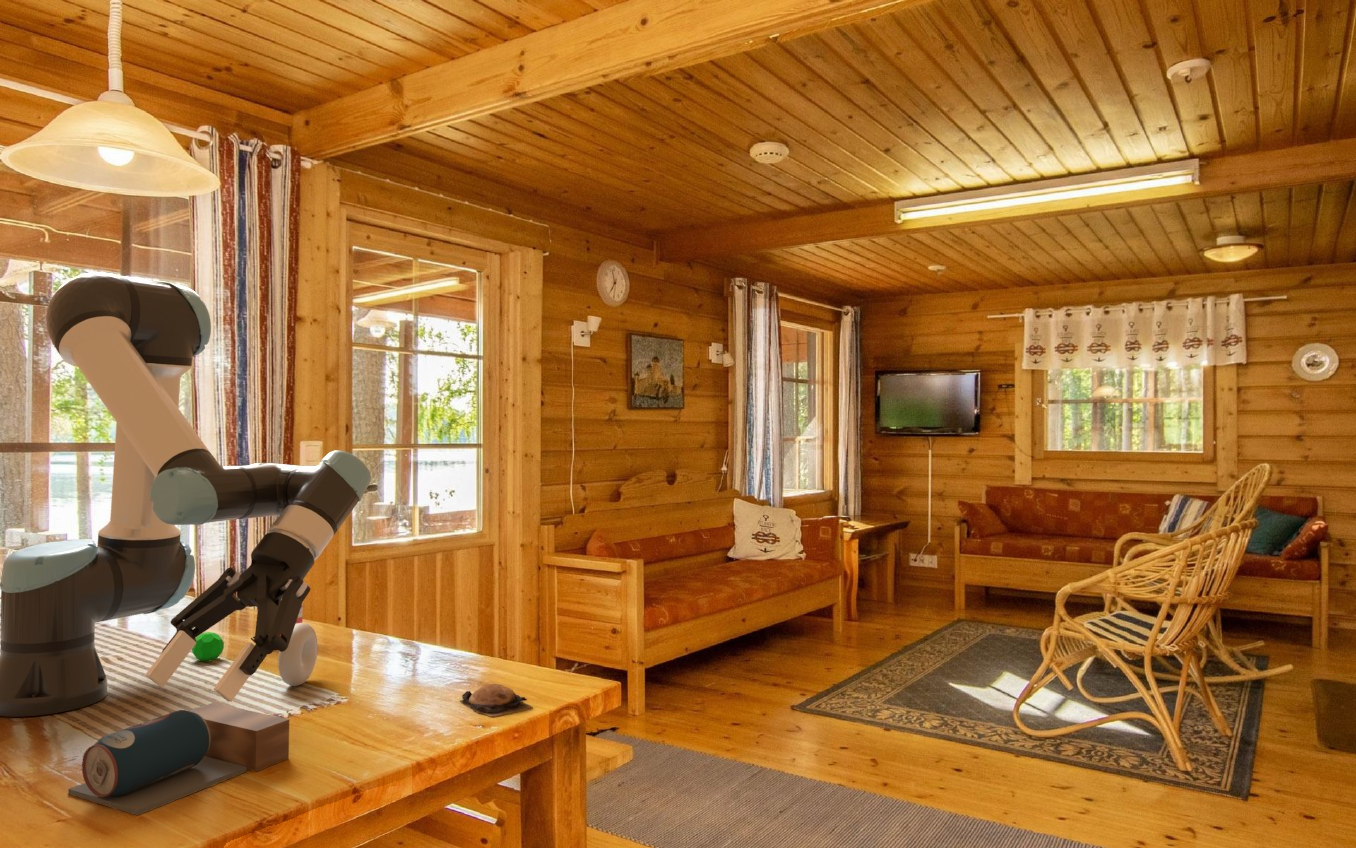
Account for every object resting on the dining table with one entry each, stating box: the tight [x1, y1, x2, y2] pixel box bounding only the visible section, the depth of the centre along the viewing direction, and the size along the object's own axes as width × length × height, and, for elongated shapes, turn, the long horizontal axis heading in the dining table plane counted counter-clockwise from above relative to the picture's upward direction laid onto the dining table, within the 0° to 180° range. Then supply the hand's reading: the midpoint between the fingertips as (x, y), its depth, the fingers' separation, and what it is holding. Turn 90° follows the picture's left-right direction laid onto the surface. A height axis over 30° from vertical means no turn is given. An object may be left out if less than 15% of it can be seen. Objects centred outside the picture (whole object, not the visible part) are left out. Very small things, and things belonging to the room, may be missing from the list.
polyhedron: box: [191, 631, 225, 662], centre depth 162 cm, size 5×5×5 cm
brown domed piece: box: [459, 683, 534, 719], centre depth 141 cm, size 11×8×4 cm
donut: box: [277, 622, 319, 687], centre depth 149 cm, size 10×4×10 cm, turn 0°
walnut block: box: [187, 702, 290, 773], centre depth 118 cm, size 14×5×5 cm, turn 65°
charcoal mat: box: [67, 756, 247, 816], centre depth 109 cm, size 12×14×1 cm
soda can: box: [81, 709, 211, 797], centre depth 107 cm, size 7×7×12 cm
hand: (187, 688), depth 112 cm, fingers open, 11 cm apart
